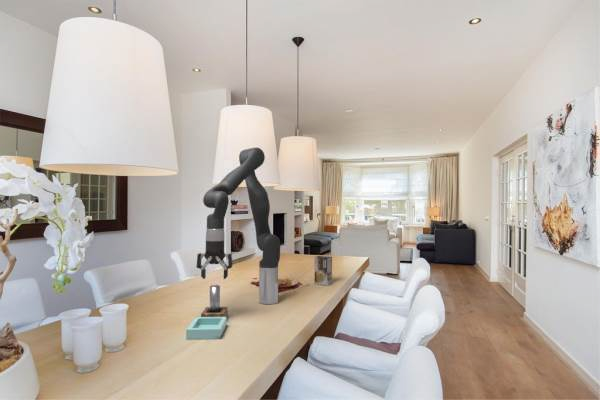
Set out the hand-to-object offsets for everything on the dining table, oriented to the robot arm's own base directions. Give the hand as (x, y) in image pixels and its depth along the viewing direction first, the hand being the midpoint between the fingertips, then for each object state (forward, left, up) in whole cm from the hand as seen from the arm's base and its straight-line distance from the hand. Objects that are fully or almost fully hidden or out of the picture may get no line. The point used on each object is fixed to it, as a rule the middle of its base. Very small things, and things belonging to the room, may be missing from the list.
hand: (214, 278), depth 140 cm
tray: (0, +13, -17) cm, 22 cm away
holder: (0, 0, -17) cm, 17 cm away
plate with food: (-26, -60, -18) cm, 68 cm away
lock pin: (0, 0, -17) cm, 17 cm away
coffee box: (-52, -61, -17) cm, 82 cm away
